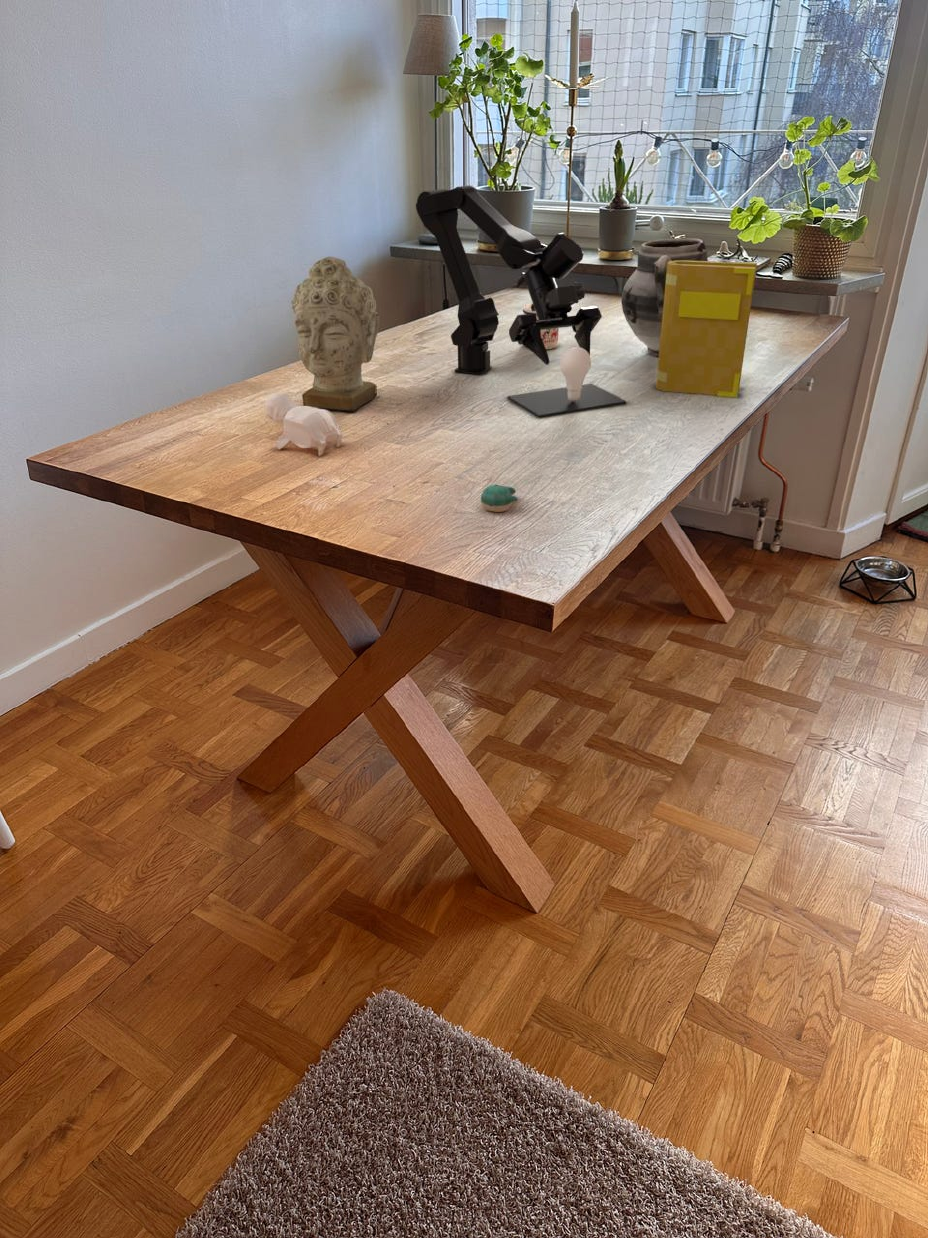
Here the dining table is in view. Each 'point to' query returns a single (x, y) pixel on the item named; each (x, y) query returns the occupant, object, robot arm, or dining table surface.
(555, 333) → the teacup with lid
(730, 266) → the book
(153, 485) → the dining table surface
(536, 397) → the mat
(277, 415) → the white turtle figurine
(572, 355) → the lightbulb
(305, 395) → the buddha head
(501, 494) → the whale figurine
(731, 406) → the dining table surface
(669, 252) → the ceramic pot
